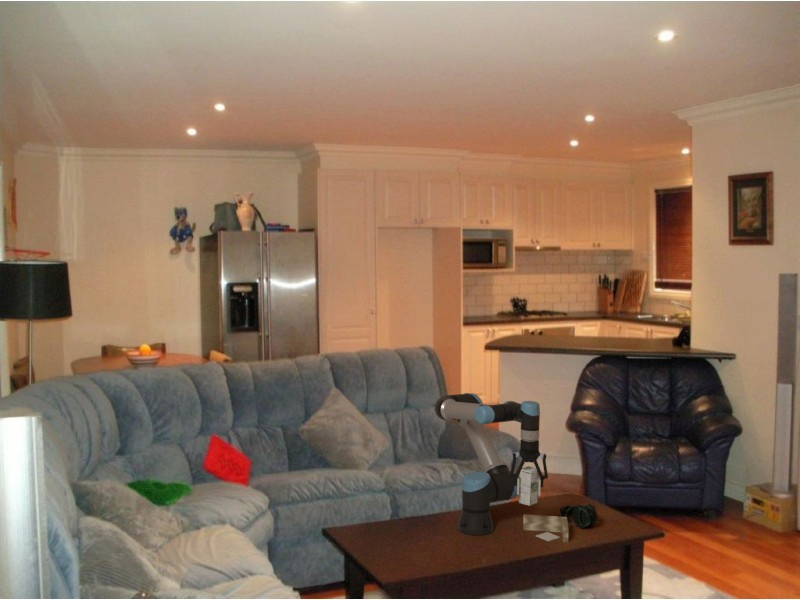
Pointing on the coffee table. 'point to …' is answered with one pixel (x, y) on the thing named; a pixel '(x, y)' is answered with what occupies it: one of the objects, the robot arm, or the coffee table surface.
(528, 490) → the syrup box
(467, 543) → the coffee table surface
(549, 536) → the pad
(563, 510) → the headphones
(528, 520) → the beige l-shaped wall
